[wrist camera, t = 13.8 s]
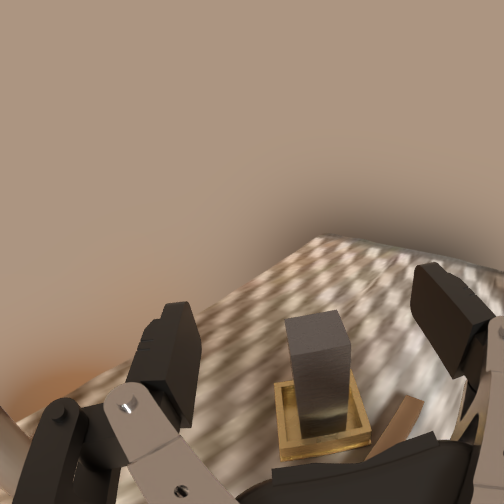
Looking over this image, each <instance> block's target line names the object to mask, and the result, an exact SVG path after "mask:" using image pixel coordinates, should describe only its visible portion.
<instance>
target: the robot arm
mask: <svg viewBox="0 0 504 504" xmlns="http://www.w3.org/2000/svg"><path fill="white" fill-rule="evenodd" d="M410 307H411V312H412V315H413V317H414V319H415V321H416V322H417V324H418V325H419V327H420V328H421V330H422V331H423V333H424V334H425V336H426V337H427V339H428V340H429V342H430V343H431V345H432V347H433V348H434V350H435V351H436V353H437V354H438V356H439V358H440V359H441V361H442V363H443V364H444V366H445V367H446V369H447V371H448V372H449V374H450V376H451V377H452V379H456V378H458V377H461V376H463V375H465V377H466V378H467V380H466V382H465V384H464V389H463V394H462V399H461V404H460V408H459V413H458V417H457V421H456V425H455V429H454V432H453V434H452V436H451V438H450V440H437V439H436V437H435V434H434V432H433V431H431V432H429V433H426V434H423V435H420V436H418V437H415V438H412V439H409V440H406V441H403V442H399V443H397V444H395V445H393V446H392V447H390V448H388V449H386V450H385V451H383V452H381V453H379V454H377V455H375V456H373V457H372V458H370V459H368V460H366V461H364V462H361V463H356V464H331V463H311V464H305V465H298V466H291V467H283V468H275V469H272V479H269V480H266V481H263V482H261V483H259V484H257V485H254V486H253V487H251V488H249V489H247V490H246V491H244V492H243V493H241V494H240V495H238V496H237V497H236V498H234V497H233V496H232V495H231V494H230V493H229V492H228V491H227V490H226V489H225V488H224V486H223V485H222V484H221V483H220V482H219V481H218V480H217V479H216V478H215V476H214V475H213V474H212V473H211V472H210V471H209V469H208V468H207V467H206V466H205V465H204V464H203V462H202V461H201V460H200V459H199V457H198V456H197V455H196V454H195V453H194V451H193V450H192V449H191V448H190V446H189V445H188V444H187V442H186V441H185V440H184V439H183V437H182V436H181V435H179V432H180V428H192V420H193V412H194V404H195V396H196V389H197V381H198V374H199V367H200V360H201V352H202V347H201V339H200V335H199V332H198V329H197V326H196V323H195V320H194V317H193V314H192V311H191V308H190V305H189V303H188V302H187V301H186V302H177V303H168V304H166V305H165V307H164V309H163V312H162V315H161V318H160V319H154V320H153V321H152V322H151V323H150V324H149V325H148V326H147V327H146V328H145V330H144V332H143V335H142V338H141V342H140V343H139V345H138V348H137V351H136V353H135V356H134V359H133V362H132V365H131V367H130V370H129V373H128V376H127V379H126V382H125V383H124V384H121V385H119V386H117V387H115V388H114V389H112V390H111V391H110V392H109V393H108V395H107V396H106V398H105V401H104V403H101V404H97V405H92V406H88V407H84V408H81V407H80V406H79V405H78V404H77V402H76V401H75V400H73V399H71V398H60V399H57V400H55V401H53V402H52V403H50V404H49V405H48V406H47V407H46V409H45V410H44V412H43V414H42V417H41V419H40V422H39V424H38V427H37V429H36V432H35V434H34V437H33V440H31V439H30V438H29V437H28V436H27V435H26V434H25V433H24V432H23V431H22V430H21V429H20V427H19V426H18V425H17V424H16V423H15V422H14V421H13V420H12V419H11V418H10V416H9V415H8V414H7V413H6V412H5V411H4V409H3V408H2V407H1V406H0V488H1V489H2V490H4V491H5V492H6V493H8V494H9V495H10V496H12V497H13V502H12V504H115V503H116V496H117V490H118V483H119V477H120V471H121V467H124V466H127V467H128V469H129V472H130V474H131V475H132V477H133V479H134V481H135V482H136V484H137V486H138V488H139V489H140V491H141V493H142V494H143V496H144V498H145V499H146V501H147V502H148V504H504V316H497V317H496V316H495V315H494V313H493V312H492V311H491V310H490V309H489V308H488V307H487V306H486V305H485V304H484V303H483V301H482V300H481V299H480V298H479V297H478V296H477V295H475V293H474V292H473V291H472V290H471V289H470V288H468V286H467V285H466V284H465V283H464V282H463V281H462V280H461V279H460V278H458V277H456V276H454V275H452V274H451V273H447V272H446V271H445V270H444V269H443V268H442V267H441V266H440V265H439V264H438V263H436V262H432V263H427V264H422V265H417V266H416V268H415V270H414V278H413V286H412V293H411V300H410ZM77 463H78V464H77ZM76 467H77V468H76ZM75 471H76V472H75ZM74 475H75V476H74ZM73 479H74V481H73Z"/></svg>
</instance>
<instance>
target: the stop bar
mask: <svg viewBox="0 0 504 504" xmlns="http://www.w3.org/2000/svg"><path fill="white" fill-rule="evenodd" d="M284 320H285V327H286V333H287V340H288V347H289V354H290V361H291V368H292V375H293V382H294V389H295V397H296V404H297V411H298V418H299V424H300V431H301V438H302V439H308V438H313V437H319V436H324V435H329V434H334V433H339V432H344V431H346V425H347V413H348V400H349V384H350V363H351V343H350V340H349V338H348V335H347V333H346V330H345V328H344V325H343V323H342V321H341V318H340V316H339V313H338V311H337V310H332V311H327V312H322V313H317V314H311V315H306V316H300V317H294V318H288V319H284Z"/></svg>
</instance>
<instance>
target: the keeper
mask: <svg viewBox="0 0 504 504" xmlns="http://www.w3.org/2000/svg"><path fill="white" fill-rule="evenodd" d="M274 390H275V403H276V415H277V427H278V439H279V450H280V461H281V462H284V461H292V460H299V459H305V458H311V457H317V456H322V455H328V454H333V453H338V452H342V451H347V450H351V449H355V448H359V447H363V446H367V445H371V440H370V437H371V432H372V430H371V427H370V424H369V421H368V418H367V414H366V411H365V408H364V405H363V402H362V399H361V396H360V393H359V391H358V388H357V385H356V382H355V379H354V376H353V373H352V370H351V369H350V384H349V400H348V413H347V425H346V431H344V432H339V433H334V434H329V435H324V436H319V437H313V438H308V439H302V438H301V431H300V424H299V418H298V411H297V404H296V397H295V389H294V382H293V380H291V381H285V382H278V383H274Z"/></svg>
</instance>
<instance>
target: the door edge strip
mask: <svg viewBox="0 0 504 504" xmlns="http://www.w3.org/2000/svg"><path fill="white" fill-rule="evenodd" d="M423 404H424V401H422V400H419V399H416V398H413V397H410V396H408V395H406V396H405V398H404V400H403V401H402V403H401V405H400V407H399V408H398V410H397V412H396V413H395V415H394V416H393V418H392V420H391V421H390V423H389V424H388V426H387V428H386V429H385V431H384V432H383V434H382V435H381V437H380V438H379V440H378V441H377V443H376V444H375V446H374V447H373V448H372V450H371V451H370V453H369V454H368V455H367V457H366V458H365V460H364V461H366V460H368V459H370V458H372V457H373V456H375V455H377V454H379V453H381V452H383V451H385V450H386V449H388V448H390V447H392V446H393V445H395V444H397V443H399V442H403V441H405V440H406V439H407V437H408V435H409V433H410V432H411V430H412V428H413V426H414V425H415V423H416V421H417V419H418V417H419V415H420V412H421V410H422V407H423ZM364 461H363V462H364Z"/></svg>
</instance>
